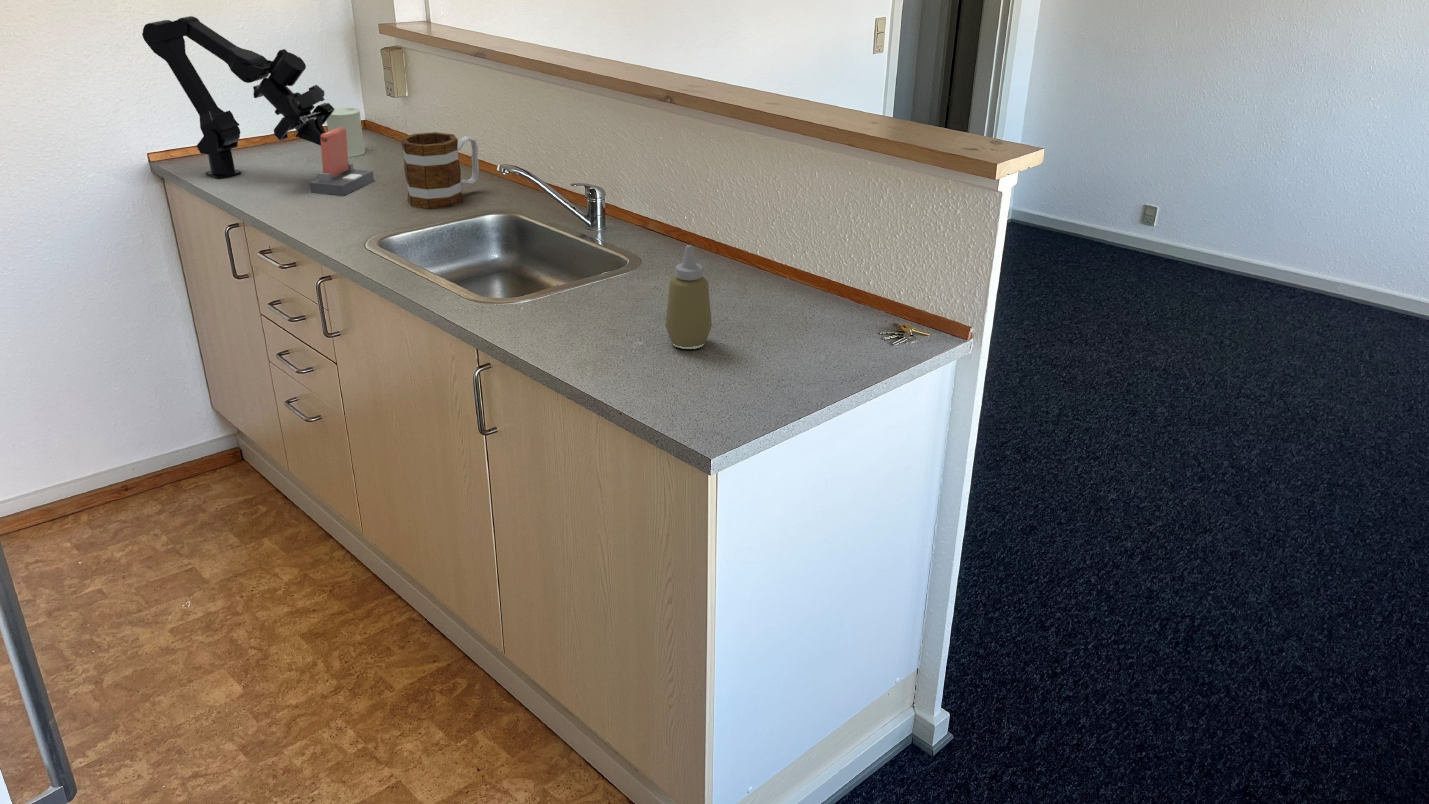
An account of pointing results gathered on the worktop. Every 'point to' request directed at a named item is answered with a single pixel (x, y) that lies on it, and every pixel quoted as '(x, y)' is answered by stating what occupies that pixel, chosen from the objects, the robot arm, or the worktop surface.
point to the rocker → (334, 151)
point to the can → (349, 128)
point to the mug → (435, 169)
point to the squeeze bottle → (688, 303)
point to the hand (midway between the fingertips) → (330, 147)
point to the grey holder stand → (341, 181)
